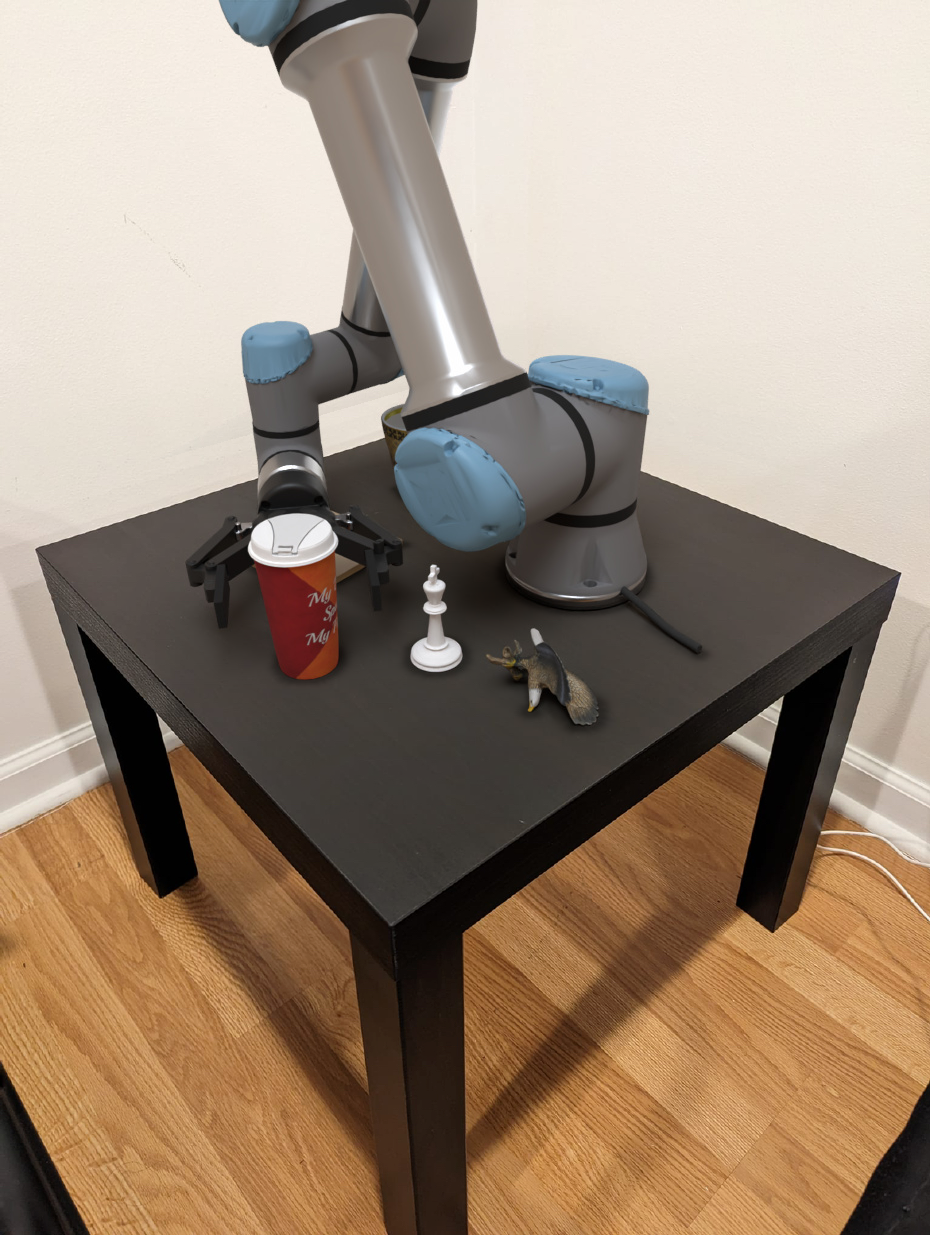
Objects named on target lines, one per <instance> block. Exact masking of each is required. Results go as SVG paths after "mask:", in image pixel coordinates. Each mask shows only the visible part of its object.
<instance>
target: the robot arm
mask: <svg viewBox="0 0 930 1235" xmlns="http://www.w3.org/2000/svg"><path fill="white" fill-rule="evenodd" d="M218 3H219V6H220V9H221V12H222V13H223V16H224V19H225V20H226V22H227V24H228V26H229V27H230V28H231V30H232V31H233V32H234V34H236V35H237V36H239V37H240V38H241V39H242V40H243V41H244V42H246V43H249V44H251V45H252V46H253V47H257V48H265V47H267V48H268V50H269V52H270V55H271V58H272V60H273V63H274V64H273V65H274V66H275V69H276V72H277V74H278V77H279V80H280V82H281V85H282V86H283V88H284V89H286V90H287V91H288V92H290V93H292V94H295V95H296V96H298V97H300V98H302V99H304V100H306V102H307V103H308V105H309V108H310V110H311V114H312V116H313V119H314V122H315V126H316V128H317V131H318V134H319V136H320V139H321V142H322V144H323V147H324V150H325V153H326V156H327V159H328V161H329V165H330V168H331V170H332V173H333V176H334V179H335V181H336V182H335V183H336V184H337V187H338V190H339V193H340V196H341V198H342V201H343V204H344V207H345V210H346V213H347V215H348V219H349V221H350V224H351V227H352V232H351V240H350V248H349V254H348V255H349V256H348V263H347V270H346V278H345V285H344V292H343V299H342V306H341V310H340V317H339V323H338V326H337V327H333V328H330V329H326V330H323V331H320V332H316V333H312V334H311V333H310V331H309V329H308V327H307V326H306V325H304V324H302V323H300V322H297V321H291V320H277V321H271V322H269V321H266V322H265V321H264V322H259V323H257V324H254V325H252V326H250V327H248V328H247V329H246V330H245V331H244V332H243V334H242V336H241V339H240V347H241V350H240V351H241V352H240V354H241V363H242V364H241V366H242V375H243V378H244V381H245V387H246V393H247V398H248V403H249V408H250V413H251V420H252V422H251V424H252V435H253V441H254V447H255V453H256V454H255V455H256V462H257V472H258V473H257V474H258V476H257V508H256V510H257V511H256V515H257V516H256V517H255V518H254V519H253V520H252V521H251V522H240V521H238V517H237V516H235V515H230V516H227V517H225V518H224V521H223V524H222V527H221V528H220V529H218V530H217V531H216V532H215V533H214V534H213V535H212V536H211V537H210V538H209V539H208V540H207V541H205V543H204V544H202V545H201V547H199V548H198V549H197V550H196V551H195V552H194V553H192V555H191V556H189V557H188V559H186V560H185V568H186V572H187V577H188V582H189V586H190V587H192V588H199V587H201V586H202V585H203V591H204V597H205V601H206V602H207V603H208V604H212V603H213V609H214V613H215V617H216V622H217V627H218V630H220V629H228V628H229V627H228V626H229V613H230V612H229V611H230V595H231V593H230V592H231V587H230V581H232V580H233V579H235V578H236V577H238V576H239V575H241V574H242V573H244V572H245V571H247V570H249V568H251V567H252V565H254V564H255V562H254V559H253V558H252V557H251V556H250V555H249V552H248V546H249V543H250V541H251V535H252V532H253V530H254V529H255V527H256V526H257V525H259V524H260V523H261V522H263V521H265V520H268V519H270V518H273V517H277V516H280V515H286V514H310V515H315V516H317V517H320V518H322V519H324V520H326V521H327V522H328V523H329V524H330V526H331V527H332V531H333V532H334V533H335V534H336V536H337V538H338V545H337V547H336V549H335V553H336V554H338V555H340V556H343V557H345V558H347V559H349V560H352V561H354V562H356V563H359V564H361V565H363V566H365V567H364V568H365V569H366V578H367V583H368V589H369V593H370V599H371V604H372V609H373V612H382V611H383V605H382V593H381V592H382V590H381V585H389V583H390V573H389V572H390V571H389V570H390V568H389V565H391V566H393V567H401V566H402V565H404V553H403V545H402V541H403V539H402V540H400V539H401V538H400V537H398V536H396V535H395V534H393V533H392V532H390V531H389V530H388V529H386V528H384V527H383V526H382V525H380V524H379V523H377V522H376V521H374V520H373V519H371V518H370V517H369V516H367V515H366V514H364V512H363V510H362V508H361V506H360V505H357V504H352V505H349V507H348V511H347V512H345V513H338V514H339V515H335V514H334V513H333V512H334V511H333V510H331V506H330V498H329V495H328V485H327V479H326V474H325V462H324V460H325V459H324V450H323V444H322V436H321V426H320V424H321V423H320V410H319V405H322V404H325V403H328V402H331V401H334V400H337V399H340V398H342V397H345V396H348V395H351V394H354V393H357V392H361V391H364V390H367V389H370V388H373V387H376V386H382V385H387V384H389V383H390V382H394V381H395V380H396V379H398V378H399V379H400V377H403V376H405V377H404V378H405V379H406V382H407V386H408V389H409V390H408V395H407V397H406V400H405V402H404V403H403V404H404V406H403V408H402V411H401V413H400V414H401V417H402V420H403V423H404V425H405V428H406V431H407V434H408V435H407V436H406V437H405V438H404V439H403V441H402V442H401V443H400V444H399V446H398V448H397V451H396V454H395V461H396V462H397V464H396V465H395V467H394V469H393V473H394V480H395V484H396V487H397V490H398V493H399V495H400V498H401V500H402V503H403V505H404V506H405V507H406V510H407V511H408V512H409V514H410V515H411V517H412V518H413V520H414V521H415V522H416V523H417V524H418V525H419V527H421V529H422V530H424V531H425V532H426V534H428V535H429V536H432V537H434V538H435V539H436V541H438V542H439V543H441V544H442V545H444V546H446V547H448V548H451V549H454V550H456V551H459V552H470V553H471V552H480V551H483V550H486V549H489V548H491V547H493V546H495V545H497V544H500V543H504V542H509V543H508V545H507V549H506V552H505V557H504V558H505V559H504V560H505V561H504V573H505V577H506V580H507V581H508V583H509V584H510V585H511V587H512V588H513V589H514V590H515V591H516V592H518V593H519V594H521V595H522V596H524V597H526V598H528V599H529V600H530V601H534V602H536V603H538V604H541V605H545V606H549V607H553V608H557V609H564V610H573V611H574V610H575V611H577V610H578V611H584V610H585V611H587V610H590V611H591V610H599V609H600V610H601V609H605V608H609V607H614V606H617V605H619V604H622V603H625V602H626V601H629V602H630V603H631V604H633V605H634V606H635V607H636V608H637V609H638V610H640V611H641V612H642V613H643V614H644V615H645V616H646V617H647V618H649V619H650V620H651V621H652V622H653V623H654V624H655V625H656V626H657V627H658V628H659V629H661V630H662V631H663V632H665V633H666V634H667V635H669V636H670V637H671V638H673V639H674V640H676V641H678V642H679V643H681V644H682V645H684V646H685V647H687V648H689V649H691V650H692V651H693V652H695V653H697V654H699V653H700V652H701V651H702V649H703V645H702V644H700V643H698V642H697V641H695V640H694V639H692V638H690V637H689V636H688V635H685V634H684V633H682V632H680V631H679V630H678V629H676V628H675V627H674V626H672V625H671V624H670V623H668V622H667V621H666V620H665V619H663V618H662V617H661V616H660V615H659V614H658V613H657V612H656V611H655V610H654V609H653V608H651V607H650V606H649V605H648V604H647V603H646V602H645V601H643V600H642V599H641V598H640V597H638V595H637V594H639V592H640V591H641V590H642V589H643V587H644V586H645V583H646V578H647V570H648V561H647V560H648V559H647V554H646V550H645V547H644V542H643V538H642V533H641V528H640V525H639V519H638V516H637V505H638V495H639V488H640V480H641V472H642V471H641V470H642V462H643V455H644V446H645V439H646V431H647V423H648V416H649V415H650V409H649V393H650V392H649V391H650V385H649V381H648V379H647V377H646V376H645V375H644V374H643V373H642V372H641V371H640V370H639V369H637V368H635V367H633V366H631V365H628V364H626V363H622V362H619V361H615V360H611V359H608V358H601V357H594V356H586V355H577V354H575V355H574V354H554V355H546V356H541V357H538V358H535V359H534V360H532V361H531V362H530V364H529V365H528V372H527V369H526V368H525V367H524V366H522V365H520V364H519V363H516V362H514V361H512V360H511V359H508V358H507V357H506V356H505V355H504V354H503V352H502V349H501V345H500V342H499V340H498V336H497V333H496V330H495V327H494V324H493V321H492V317H491V315H490V311H489V308H488V305H487V303H486V298H485V296H484V294H483V289H482V286H481V284H480V280H479V278H478V274H477V271H476V269H475V265H474V263H473V259H472V256H471V252H470V250H469V247H468V243H467V240H466V237H465V234H464V231H463V227H462V225H461V222H460V219H459V216H458V213H457V210H456V206H455V204H454V200H453V197H452V193H451V191H450V188H449V184H448V182H447V178H446V176H445V172H444V170H443V166H442V164H441V160H440V157H441V153H442V149H443V143H444V138H445V133H446V128H447V123H448V119H449V118H448V117H449V114H450V113H449V112H450V109H451V103H452V98H453V94H454V89H455V87H456V86H458V85H459V84H460V83H462V82H463V81H465V80H466V79H467V78H468V74H469V69H470V64H471V60H472V56H473V51H474V49H473V48H474V45H475V39H476V32H477V21H478V20H477V18H478V5H479V4H478V0H218ZM330 510H331V511H330ZM332 511H333V512H332ZM399 538H400V539H399Z"/></svg>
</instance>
